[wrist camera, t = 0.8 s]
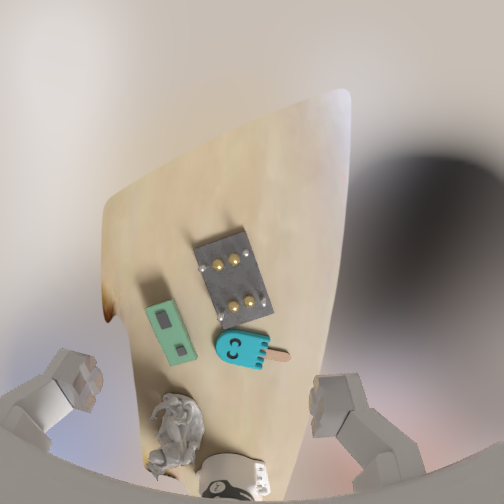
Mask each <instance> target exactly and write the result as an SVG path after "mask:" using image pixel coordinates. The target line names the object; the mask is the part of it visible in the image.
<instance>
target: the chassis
mask: <svg viewBox="0 0 504 504" xmlns="http://www.w3.org/2000/svg"><path fill="white" fill-rule="evenodd" d="M193 250H194V253H195V256H196V258H197V261H198V264H199V268H198V270H199V271H200V272H202V275H203V278H204V280H205V283H206V286H207V288H208V291H209V293H210V296H211V299H212V301H213V304H214V306H215V309H216V312H217V314H218V317H217V320H218V321H220V322H221V324H222V327H223V329H227V328H230V327H234V326H237V325H240V324H243V323H246V322H249V321H252V320H255V319H258V318H261V317H264V316H267V315H270V314H273V313H274V311H273V308H272V305H271V302H270V299H269V297H268V294H267V291H266V288H265V285H264V282H263V279H262V277H261V274H260V271H259V268H258V265H257V262H256V259H255V257H254V254H253V251H252V248H251V245H250V242H249V239H248V237H247V234H246V231H244V232H241V233H238V234H235V235H233V236H230V237H227V238H224V239H221V240H218V241H216V242H213V243H210V244H207V245H205V246H202V247H199V248H196V249H193Z"/></svg>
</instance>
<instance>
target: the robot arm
mask: <svg viewBox="0 0 504 504" xmlns="http://www.w3.org/2000/svg"><path fill="white" fill-rule="evenodd" d="M96 363H97V362H96V360H95V359H94V357H93V356H90V355H86V354H82V353H78V352H74V351H71V350H67V349H63V348H62V349H60V350H59V351H58V352H57V354H56V355H55V357H54V358H53V360H52V361H51V363H50V364H49V366H48V367H47V369H46V370H45V372H44V374H43V375H38V376H36V377H34V378H33V379H31V380H30V381H27V382H26V383H24V384H22V385H20V386H18V387H17V388H15V389H13V390H11V391H10V392H8V393H6V394H4V395H3V396H1V398H0V504H504V442H497V443H494V444H492V445H490V446H488V447H487V448H485V449H483V450H481V451H479V452H477V453H475V454H473V455H471V456H469V457H466V458H464V459H462V460H460V461H458V462H455V463H453V464H450V465H448V466H446V467H443V468H441V469H438V470H435V471H433V472H430V473H427V474H426V471H425V468H424V464H423V461H422V458H421V455H420V452H419V449H418V446H417V443H415V442H414V441H413V440H411V439H410V438H409V437H407V435H405V434H404V433H403V432H401V431H400V430H399V429H398V428H397V427H395V426H394V425H393V424H392V423H391V422H389V421H388V420H387V419H386V418H385V417H383V416H382V415H381V414H380V413H379V412H377V411H376V410H375V409H374V408H369V406H368V402H367V399H366V396H365V392H364V389H363V386H362V383H361V380H360V377H359V374H358V373H346V374H328V375H316V376H315V377H314V380H313V384H314V387H313V388H312V389H311V391H310V395H309V411H310V414H311V415H313V419H312V422H311V426H312V433H313V438H320V437H335V436H336V438H337V439H338V440H339V442H340V443H341V444H342V445H343V446H344V448H345V449H346V450H347V451H348V452H349V453H350V454H351V456H352V457H353V458H354V459H355V460H356V461H357V462H358V463H359V464H360V466H361V467H362V468H363V469H364V470H363V471H362V472H361V473H360V474H359V475H358V476H356V477H355V479H354V480H353V481H352V483H353V490H354V493H352V494H345V495H339V496H332V497H324V498H315V499H305V500H290V501H263V496H265V495H267V494H269V493H270V491H271V489H270V484H269V479H268V475H267V470H266V465H265V463H264V462H263V461H257V460H252V459H249V458H247V457H245V456H242V455H238V454H230V453H224V454H217V455H213V456H211V457H209V458H207V459H206V460H205V461H204V462H203V464H202V467H201V469H200V470H198V471H197V473H196V476H197V477H198V478H199V494H200V495H201V496H202V497H195V496H188V495H182V494H176V493H170V492H165V491H160V490H155V489H151V488H146V487H143V486H138V485H134V484H131V483H128V482H124V481H120V480H117V479H114V478H111V477H108V476H105V475H102V474H99V473H96V472H93V471H91V470H88V469H85V468H83V467H80V466H78V465H75V464H73V463H70V462H68V461H66V460H63V459H61V458H59V457H57V456H54V455H53V454H51V453H48V452H49V449H50V447H51V445H52V441H51V439H50V438H49V437H48V436H47V435H46V434H45V432H46V431H47V430H49V429H50V428H51V427H52V426H54V425H55V424H56V423H57V422H59V421H60V420H61V419H62V418H63V417H65V416H66V415H67V414H68V413H69V412H71V411H72V410H73V408H75V409H78V410H82V411H85V412H89V413H90V412H91V410H92V408H93V406H94V404H95V402H96V399H95V395H96V394H98V393H99V392H100V391H101V388H102V385H103V376H102V373H101V371H100V369H98V368H97V367H96V366H95V365H96Z"/></svg>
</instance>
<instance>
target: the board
mask: <svg viewBox="0 0 504 504" xmlns="http://www.w3.org/2000/svg"><path fill="white" fill-rule="evenodd" d="M145 310H146V313H147V315H148V318H149V320H150V322H151V325H152V327H153V329H154V332H155V334H156V336H157V338H158V340H159V343H160V345H161V347H162V349H163V351H164V354H165V356H166V358H167V360H168V362H169V364H170V366H173V365H177V364H181V363H185V362H189V361H193V360H196V359H197V357H198V355H197V353H196V351H195V349H194V347H193V344H192V342H191V340H190V337H189V335H188V333H187V330H186V328H185V326H184V323H183V321H182V319H181V316H180V314H179V311H178V309H177V306H176V304H175V301H174V299H170V300H167V301H164V302H161V303H158V304H155V305H152V306H149V307H147V308H145Z"/></svg>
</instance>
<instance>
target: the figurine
mask: <svg viewBox="0 0 504 504" xmlns="http://www.w3.org/2000/svg"><path fill="white" fill-rule="evenodd" d="M162 409H166V413H165V414H164V416H163V417H162V424H161V427H160V429H159V431H158V433H157V434H156V435H155V436H154V437H153V438H157V437H158V440H159V443H160V444H161V445H162V446H161V447H159V448H158V449H157V450H153V451H151V452H150V454H149V458H148V459H149V460H150V461H152V462H153V463H154V464H153V463H151V462H150V461H148V463H147V464H146V465H147V468H148V469H150V470H152V474H153V475H154V476H155V474H156V479H157V481H158V475H163V474H164V473H165V471H166V469H170V468H175V467H177V466H178V465H179V464H181V466H184V465H188V464H189V463H191V462H192V463H193V465H194V461H195V450H196V448H197V449H198V450H199V448H200V443H201V440H202V435H203V433H204V431H205V427H204V424H203V418H202V413H201V410H200V408H199V407H198V405H197V403H196V401H195V400H193V399H192V398H190V397H188V396H184V395H182V394H172V393H167V394H165V395H164V396H163V402H162V403H160V404H159V405H157V406H155V408H154V409H153V412H152V416H151V417H150V419H149V420H150V421H152V420H153V419H155V418H156V420H158V419H157V417H156V414H157V412H158V411H159V410H162ZM153 421H154V420H153ZM187 441H190V442H189V444H188V447H189V448H187V443H186V442H187ZM186 449H187V450H186ZM193 458H194V461H193Z"/></svg>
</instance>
